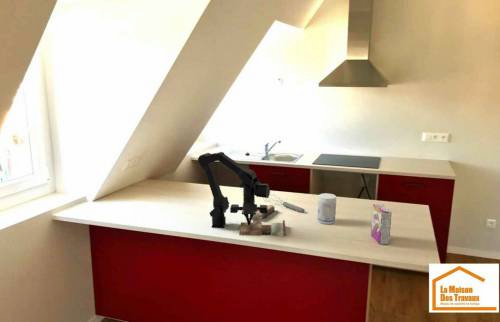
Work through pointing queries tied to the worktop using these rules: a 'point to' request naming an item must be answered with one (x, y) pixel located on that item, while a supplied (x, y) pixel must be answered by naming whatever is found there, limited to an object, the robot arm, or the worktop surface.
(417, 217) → the worktop surface
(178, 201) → the worktop surface
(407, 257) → the worktop surface
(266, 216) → the packaged product
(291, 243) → the worktop surface
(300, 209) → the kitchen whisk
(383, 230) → the candy bar box
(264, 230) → the trap deck
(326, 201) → the supplement tub
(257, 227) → the birch block
